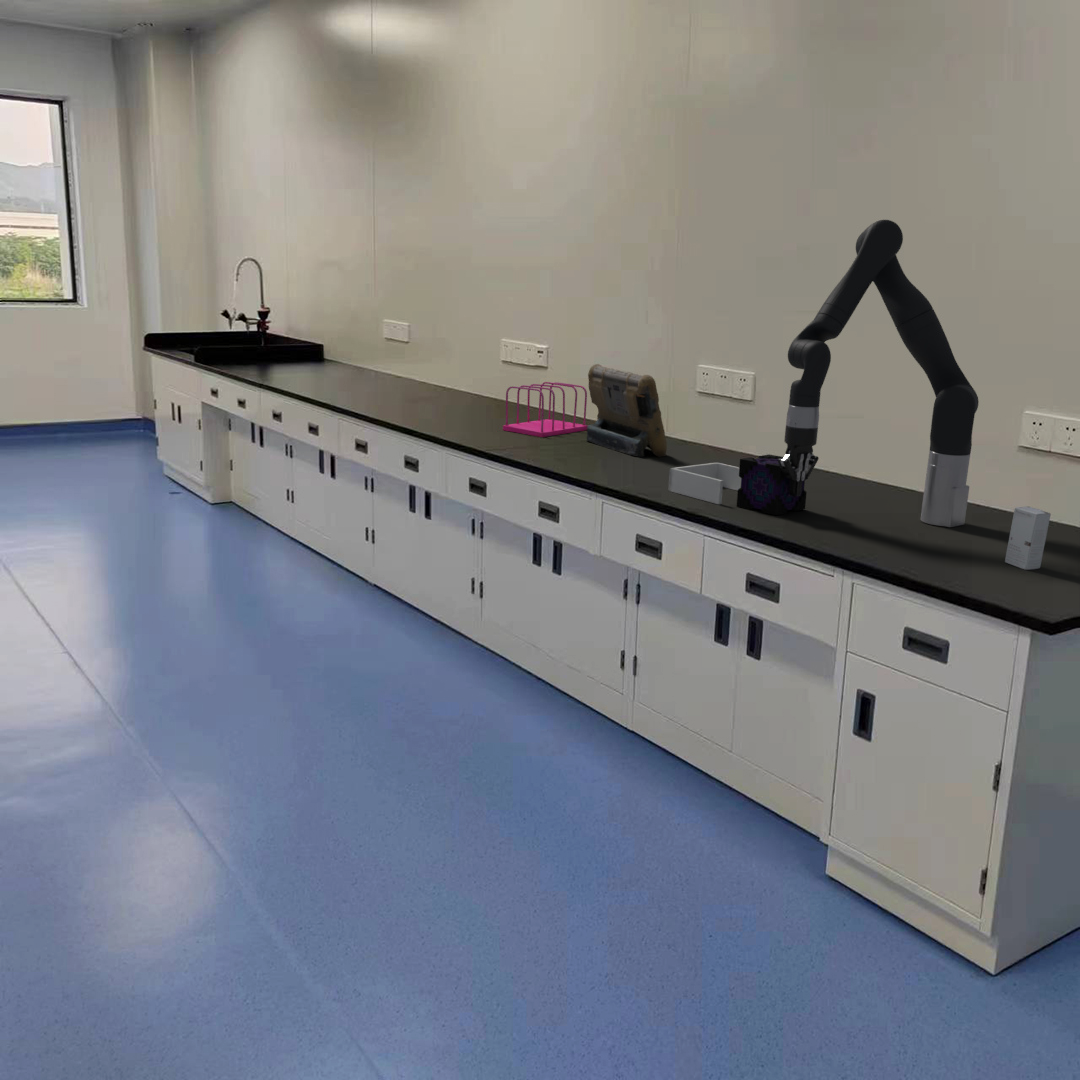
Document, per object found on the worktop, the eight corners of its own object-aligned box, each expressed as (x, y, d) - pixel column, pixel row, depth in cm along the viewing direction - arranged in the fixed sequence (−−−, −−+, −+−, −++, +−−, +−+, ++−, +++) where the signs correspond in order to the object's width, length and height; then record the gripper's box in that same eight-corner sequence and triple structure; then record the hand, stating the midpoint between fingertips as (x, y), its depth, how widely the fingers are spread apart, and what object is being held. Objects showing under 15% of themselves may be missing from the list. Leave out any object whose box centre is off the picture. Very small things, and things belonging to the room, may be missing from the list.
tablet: (675, 455, 344) (681, 374, 337) (640, 459, 336) (645, 375, 330) (609, 438, 369) (614, 362, 363) (576, 441, 362) (580, 363, 355)
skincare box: (1003, 562, 236) (1012, 506, 233) (1019, 561, 238) (1027, 505, 235) (1026, 570, 231) (1035, 513, 228) (1042, 568, 233) (1051, 512, 230)
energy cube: (776, 515, 269) (780, 466, 267) (736, 506, 278) (740, 458, 275) (805, 509, 277) (809, 461, 275) (765, 500, 286) (769, 454, 283)
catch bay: (766, 497, 290) (768, 474, 289) (718, 504, 279) (720, 481, 278) (715, 484, 304) (717, 462, 302) (668, 490, 293) (669, 468, 291)
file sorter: (502, 430, 377) (503, 384, 373) (548, 423, 395) (550, 379, 391) (542, 437, 366) (544, 390, 362) (588, 430, 385) (590, 384, 381)
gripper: (797, 428, 259) (789, 501, 264) (832, 425, 267) (824, 495, 272) (771, 424, 265) (765, 495, 269) (806, 420, 273) (799, 490, 277)
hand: (794, 495), depth 270 cm, fingers closed
